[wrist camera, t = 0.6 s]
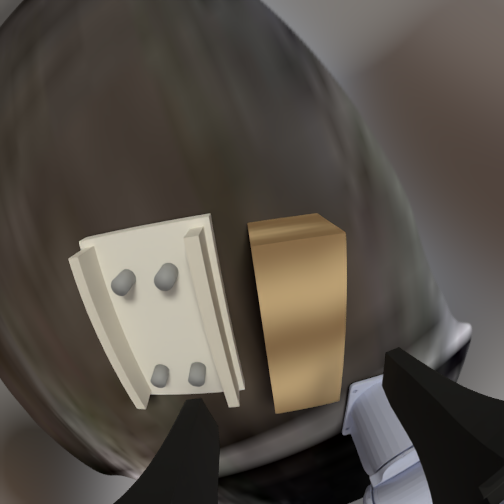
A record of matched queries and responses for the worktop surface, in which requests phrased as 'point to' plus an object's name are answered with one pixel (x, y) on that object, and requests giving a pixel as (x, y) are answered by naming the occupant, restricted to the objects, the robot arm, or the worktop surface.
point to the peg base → (161, 308)
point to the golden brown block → (301, 307)
